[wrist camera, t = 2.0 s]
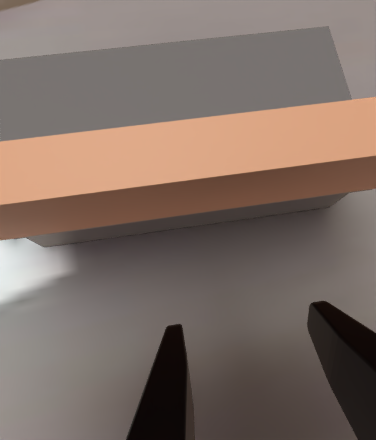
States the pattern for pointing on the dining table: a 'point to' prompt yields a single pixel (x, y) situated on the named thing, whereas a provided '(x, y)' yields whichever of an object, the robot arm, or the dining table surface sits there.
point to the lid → (185, 167)
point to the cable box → (170, 99)
